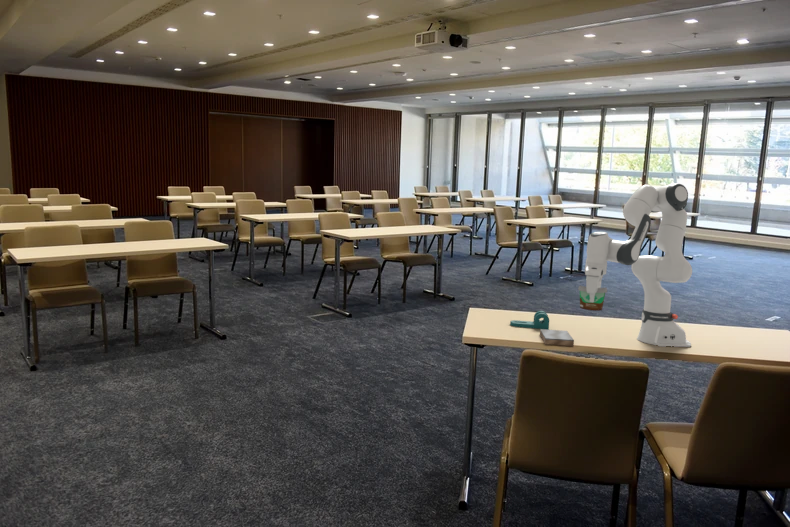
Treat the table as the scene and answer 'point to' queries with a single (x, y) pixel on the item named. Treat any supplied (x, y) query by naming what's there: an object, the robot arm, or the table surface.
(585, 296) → the food container
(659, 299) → the robot arm
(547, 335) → the grey flat block
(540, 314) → the bracket
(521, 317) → the table surface
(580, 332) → the table surface
